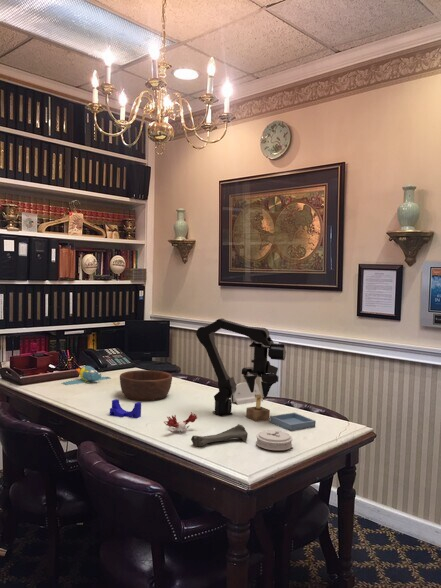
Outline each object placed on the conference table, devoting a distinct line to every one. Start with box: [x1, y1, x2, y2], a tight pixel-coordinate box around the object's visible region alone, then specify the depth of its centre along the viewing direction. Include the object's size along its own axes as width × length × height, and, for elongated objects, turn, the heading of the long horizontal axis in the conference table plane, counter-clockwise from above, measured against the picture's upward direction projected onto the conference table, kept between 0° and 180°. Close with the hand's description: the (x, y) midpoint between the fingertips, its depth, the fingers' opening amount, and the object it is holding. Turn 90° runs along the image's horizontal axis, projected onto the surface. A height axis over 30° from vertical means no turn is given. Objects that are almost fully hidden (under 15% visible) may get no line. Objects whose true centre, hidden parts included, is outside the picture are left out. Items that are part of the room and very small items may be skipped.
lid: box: [255, 429, 293, 451], centre depth 175 cm, size 13×13×5 cm
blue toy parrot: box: [60, 365, 112, 386], centre depth 265 cm, size 28×9×15 cm
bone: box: [190, 424, 249, 447], centre depth 176 cm, size 22×6×6 cm, turn 119°
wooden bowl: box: [119, 369, 173, 402], centre depth 239 cm, size 25×25×10 cm
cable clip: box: [109, 398, 142, 419], centre depth 204 cm, size 12×4×6 cm, turn 72°
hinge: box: [229, 381, 264, 406], centre depth 237 cm, size 17×5×10 cm, turn 127°
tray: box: [269, 412, 317, 432], centre depth 202 cm, size 13×13×2 cm
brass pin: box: [255, 393, 264, 410], centre depth 209 cm, size 3×3×10 cm
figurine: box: [163, 411, 198, 433], centre depth 188 cm, size 15×12×7 cm
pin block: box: [245, 405, 271, 423], centre depth 209 cm, size 7×7×4 cm
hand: (258, 394), depth 209 cm, fingers open, 9 cm apart
